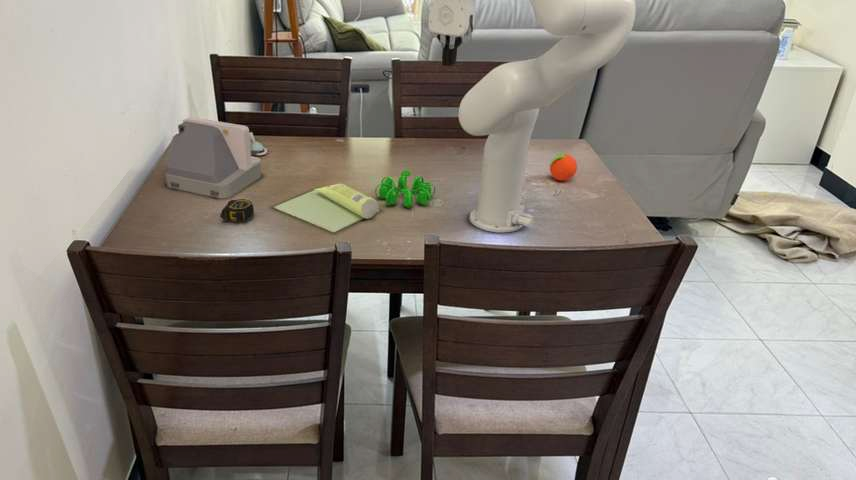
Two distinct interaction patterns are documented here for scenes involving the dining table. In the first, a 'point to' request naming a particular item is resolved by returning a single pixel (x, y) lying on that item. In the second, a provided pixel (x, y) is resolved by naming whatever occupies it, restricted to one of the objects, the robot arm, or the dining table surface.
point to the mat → (320, 211)
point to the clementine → (563, 167)
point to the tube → (351, 199)
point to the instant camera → (211, 158)
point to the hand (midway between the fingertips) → (448, 64)
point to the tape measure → (237, 210)
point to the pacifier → (256, 146)
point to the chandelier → (405, 190)
